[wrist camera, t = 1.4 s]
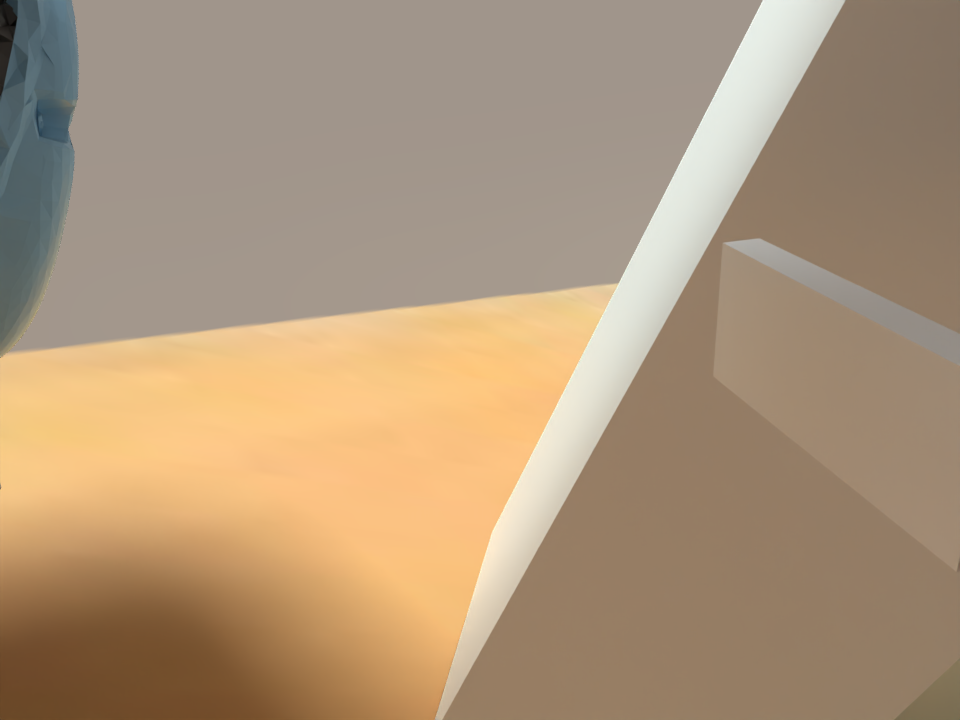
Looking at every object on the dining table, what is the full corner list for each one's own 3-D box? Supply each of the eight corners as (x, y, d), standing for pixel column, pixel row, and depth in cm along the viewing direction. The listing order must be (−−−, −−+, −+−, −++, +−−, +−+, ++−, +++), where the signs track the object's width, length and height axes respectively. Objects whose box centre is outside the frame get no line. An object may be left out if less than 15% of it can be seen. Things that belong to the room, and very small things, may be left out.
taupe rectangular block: (725, 877, 33) (1514, 138, 16) (425, 748, 33) (913, -120, 16) (721, 630, 43) (1206, 19, 26) (492, 531, 43) (834, -141, 26)
